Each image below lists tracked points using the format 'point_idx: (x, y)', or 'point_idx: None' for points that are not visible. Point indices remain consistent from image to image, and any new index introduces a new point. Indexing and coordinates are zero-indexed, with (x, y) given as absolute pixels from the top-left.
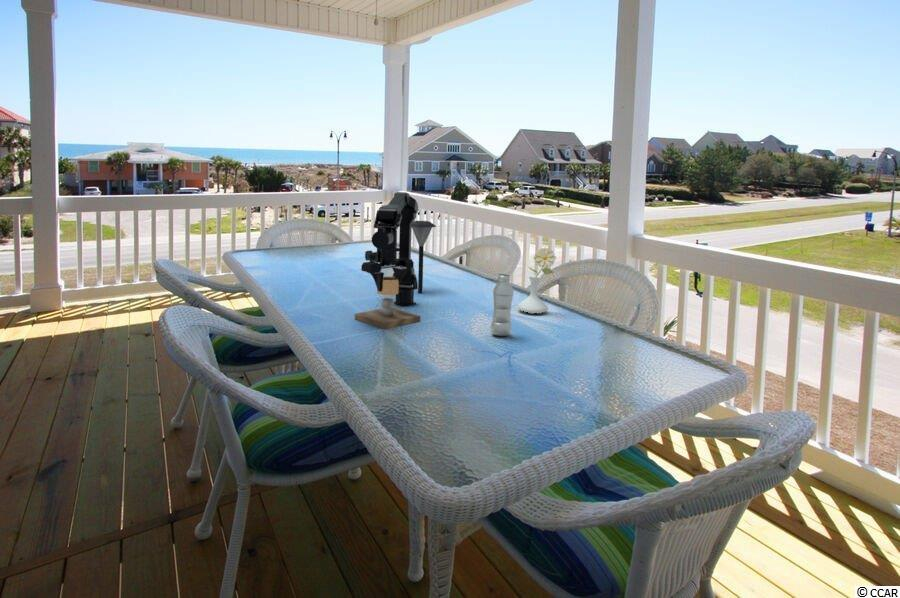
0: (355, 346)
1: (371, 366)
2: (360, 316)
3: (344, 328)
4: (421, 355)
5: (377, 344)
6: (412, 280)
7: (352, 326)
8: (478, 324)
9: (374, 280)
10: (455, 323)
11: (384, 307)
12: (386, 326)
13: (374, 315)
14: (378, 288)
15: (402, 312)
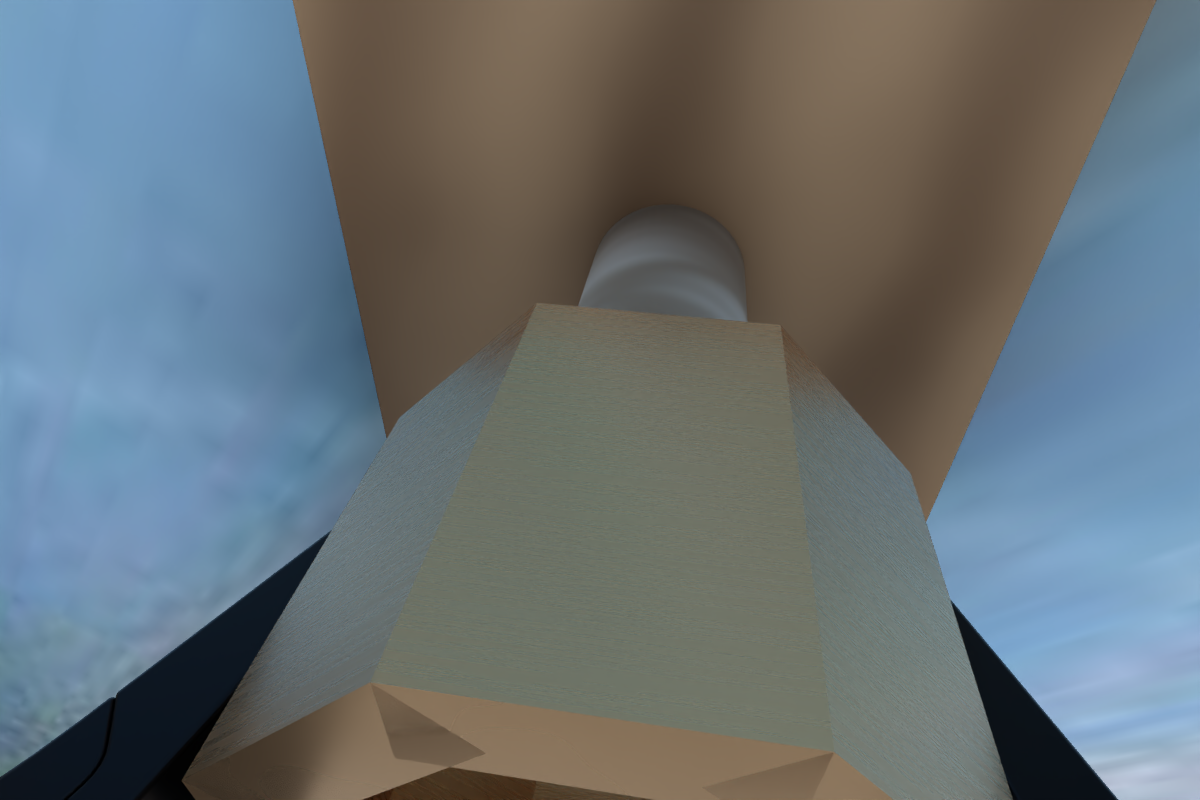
0: (52, 554)
1: (71, 726)
2: (307, 35)
3: (48, 165)
4: None
5: (202, 607)
6: None
7: (159, 160)
8: (1120, 782)
9: (62, 740)
10: (1044, 691)
11: None
12: None
13: (491, 183)
14: None
15: (930, 325)
